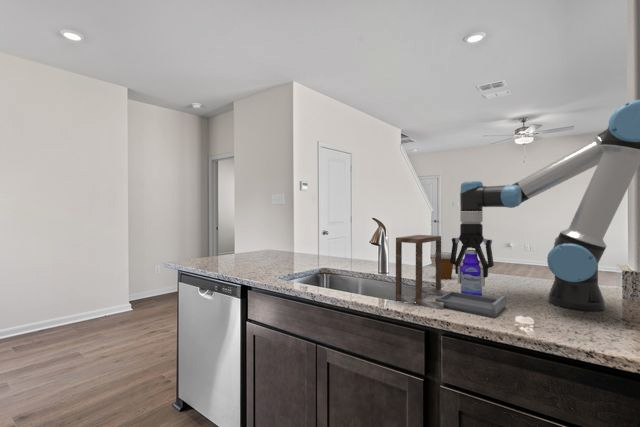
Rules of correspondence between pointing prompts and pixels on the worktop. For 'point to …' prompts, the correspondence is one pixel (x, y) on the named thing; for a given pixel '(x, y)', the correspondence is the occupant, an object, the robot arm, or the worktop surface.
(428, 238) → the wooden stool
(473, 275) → the bottle
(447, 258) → the disposable coffee cup
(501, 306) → the tray
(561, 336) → the worktop surface
